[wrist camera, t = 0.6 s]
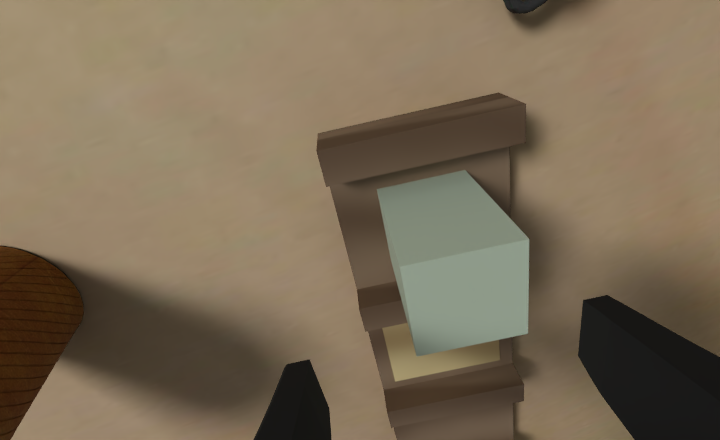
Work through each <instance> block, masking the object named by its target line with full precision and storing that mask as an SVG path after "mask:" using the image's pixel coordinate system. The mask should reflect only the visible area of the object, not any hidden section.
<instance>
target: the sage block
mask: <svg viewBox="0 0 720 440" xmlns="http://www.w3.org/2000/svg"><path fill="white" fill-rule="evenodd" d="M377 193H378V198H379V203H380V208H381V213H382V218H383V223H384V228H385V233H386V238H387V243H388V248H389V253H390V258H391V262H392V266H393V270H394V274H395V277H396V281H397V285H398V289H399V292H400V296H401V300H402V304H403V307H404V311H405V315H406V319H407V322H408V326H409V330H410V333H411V337H412V341H413V345H414V348H415V352H416V356H417V357H418V356H423V355H428V354H432V353H437V352H442V351H447V350H452V349H456V348H461V347H466V346H471V345H476V344H481V343H485V342H490V341H495V340H500V339H505V338H509V337H514V336H519V335H524V334H528V295H529V238H528V237H527V236H526V235H525V234H524V233H523V232H522V231H521V230H520V228H519V227H518V226H517V225H516V224H515V223H514V222H513V221H512V220H511V219H510V218H509V217H508V216H507V214H506V213H505V212H504V211H503V210H502V209H501V208H500V207H499V206H498V205H497V204H496V203H495V202H494V200H493V199H492V198H491V197H490V196H489V195H488V194H487V193H486V192H485V191H484V190H483V189H482V188H481V186H480V185H479V184H478V183H477V182H476V181H475V180H474V179H473V178H472V177H471V176H470V175H469V174H468V172H467V171H466V170H462V171H457V172H453V173H448V174H444V175H439V176H435V177H430V178H426V179H421V180H417V181H412V182H408V183H403V184H398V185H394V186H389V187H385V188H380V189H377Z"/></svg>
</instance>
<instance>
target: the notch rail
mask: <svg viewBox="0 0 720 440" xmlns="http://www.w3.org/2000/svg"><path fill="white" fill-rule="evenodd" d="M522 143H526V104H525V103H522V102H520V101H517V100H515V99H513V98H510V97H508V96H505V95H503V94H501V93H496V94H491V95H487V96H482V97H478V98H473V99H469V100H465V101H460V102H456V103H451V104H447V105H442V106H438V107H434V108H429V109H425V110H420V111H416V112H411V113H407V114H403V115H398V116H394V117H389V118H385V119H380V120H376V121H372V122H367V123H363V124H358V125H354V126H349V127H345V128H341V129H336V130H332V131H327V132H323V133H318V139H317V155H318V158H319V162H320V166H321V169H322V173H323V177H324V180H325V184H326V187H328V186H330V189H331V193H332V197H333V200H334V204H335V208H336V212H337V216H338V219H339V223H340V227H341V231H342V234H343V238H344V242H345V246H346V249H347V253H348V257H349V261H350V264H351V268H352V272H353V276H354V280H355V283H356V287H357V293H358V302H359V310H360V314H361V317H362V321H363V325H364V328H365V332H366V331H368V332H369V336H370V340H371V344H372V347H373V351H374V355H375V359H376V362H377V366H378V370H379V374H380V378H381V381H382V385H383V389H384V395H385V401H386V408H387V413H388V417H389V421H390V424H391V428H393V427H394V430H395V434H396V438H397V440H514V439H513V403H516V402H521V401H524V384H523V382H522V380H521V378H520V376H519V375H518V373H517V371H516V369H515V367H514V365H513V363H512V337H509V338H505V339H500V340H495V341H490V342H485V343H481V344H476V345H471V346H466V347H461V348H456V349H452V350H447V351H442V352H437V353H432V354H428V355H423V356H418V357H417V356H416V352H415V348H414V345H413V341H412V337H411V333H410V330H409V326H408V322H407V319H406V315H405V311H404V307H403V304H402V300H401V296H400V292H399V289H398V285H397V281H396V277H395V274H394V270H393V266H392V262H391V258H390V253H389V248H388V243H387V238H386V233H385V228H384V223H383V218H382V213H381V208H380V203H379V198H378V193H377V189H380V188H385V187H389V186H394V185H398V184H403V183H408V182H412V181H417V180H421V179H426V178H430V177H435V176H439V175H444V174H448V173H453V172H457V171H462V170H466V171H467V172H468V174H469V175H470V176H471V177H472V178H473V179H474V180H475V181H476V182H477V183H478V184H479V185H480V186H481V188H482V189H483V190H484V191H485V192H486V193H487V194H488V195H489V196H490V197H491V198H492V199H493V200H494V202H495V203H496V204H497V205H498V206H499V207H500V208H501V209H502V210H503V211H504V212H505V213H506V214H507V216H508V217H509V218H510V150H509V146H513V145H517V144H522Z"/></svg>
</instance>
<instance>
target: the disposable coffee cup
mask: <svg viewBox="0 0 720 440" xmlns="http://www.w3.org/2000/svg"><path fill="white" fill-rule="evenodd" d="M83 313H84V312H83V302H82V299H81V296H80V294H79V292H78V290H77V289H76V287H75V285H74V284H73V283H72V282H71V281H70V280H69V279H68V278H67V277H66V276H65V274H64V273H62V272H61V271H60V270H59V269H57V268H56V267H55V266H53V265H52V264H50V263H48V262H47V261H45V260H44V259H41V258H39V257H37V256H34V255H32V254H30V253H27V252H25V251H21V250H18V249H15V248H9V247H3V246H0V440H10V439H11V438H12V436H13V435H14V433H15V431H16V429H17V427H18V426H19V424H20V422H21V421H22V419H23V417H24V416H25V414H26V412H27V411H28V409H29V408H30V406H31V404H32V402H33V401H34V399H35V397H36V396H37V394H38V392H39V391H40V389H41V387H42V385H43V384H44V382H45V381H46V379H47V377H48V375H49V374H50V372H51V371H52V369H53V367H54V366H55V364H56V362H57V361H58V359H59V357H60V356H61V354H62V352H63V350H64V349H65V347H66V345H67V344H68V342H69V340H70V339H71V337H72V335H73V334H74V332H75V330H76V329H77V328H78V326H79V324H80V323H81V321H82V317H83Z"/></svg>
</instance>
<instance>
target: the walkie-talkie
mask: <svg viewBox="0 0 720 440" xmlns="http://www.w3.org/2000/svg"><path fill="white" fill-rule="evenodd" d="M503 1H504V3H505V6H506V8H507V9H508V10H509V11H511V12H512V13H519V14H520V13H528V12H531V11H533V10H535V9H536V8H538V7H539V6H541V5H542V4H544V3H545V2H546V1H547V0H525V1H521V0H503Z"/></svg>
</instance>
